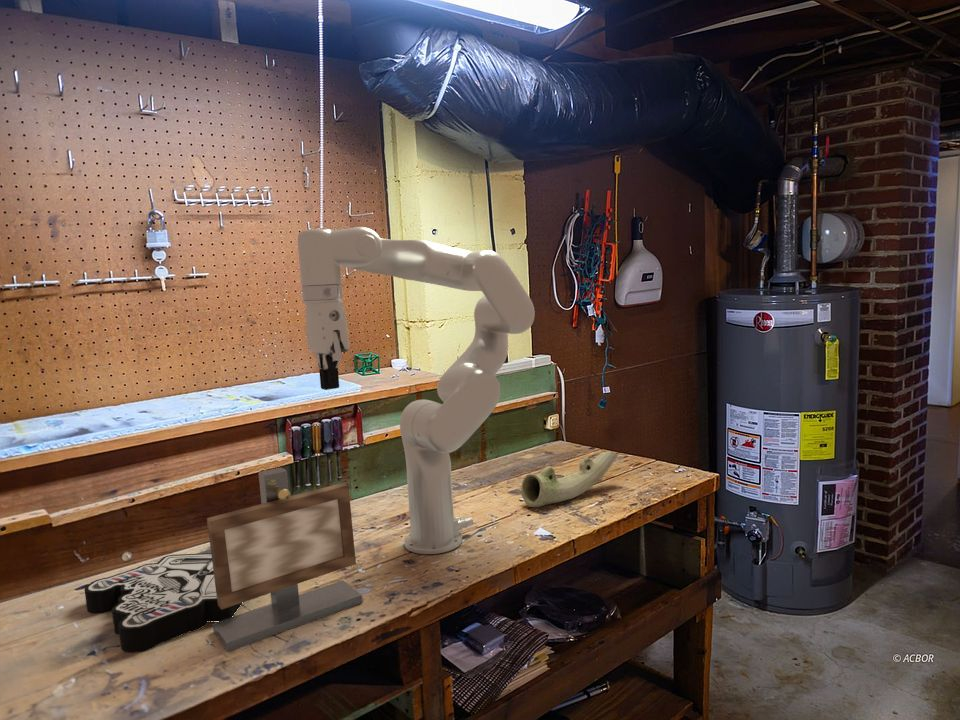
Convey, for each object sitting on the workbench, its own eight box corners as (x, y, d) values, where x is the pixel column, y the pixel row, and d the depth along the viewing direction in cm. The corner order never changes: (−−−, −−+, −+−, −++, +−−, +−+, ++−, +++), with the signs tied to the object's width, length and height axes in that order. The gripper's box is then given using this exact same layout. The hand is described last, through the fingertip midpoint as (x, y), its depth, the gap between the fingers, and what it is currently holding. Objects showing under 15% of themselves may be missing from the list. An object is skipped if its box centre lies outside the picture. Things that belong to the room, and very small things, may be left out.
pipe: (541, 514, 163) (539, 474, 161) (518, 506, 169) (516, 467, 168) (620, 487, 179) (619, 449, 178) (596, 480, 186) (595, 444, 185)
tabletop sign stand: (343, 587, 130) (332, 455, 127) (362, 602, 124) (351, 464, 120) (213, 631, 117) (197, 484, 113) (227, 651, 110) (210, 496, 107)
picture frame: (351, 560, 126) (343, 482, 124) (355, 564, 125) (348, 485, 123) (217, 605, 113) (206, 518, 110) (221, 609, 111) (210, 521, 109)
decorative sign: (78, 583, 129) (232, 534, 149) (81, 606, 129) (234, 554, 150) (127, 636, 109) (297, 570, 129) (131, 662, 109) (299, 593, 130)
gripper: (357, 293, 128) (364, 390, 130) (324, 293, 140) (332, 381, 142) (319, 296, 123) (328, 396, 126) (289, 295, 135) (297, 387, 138)
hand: (330, 388), depth 134 cm, fingers closed
